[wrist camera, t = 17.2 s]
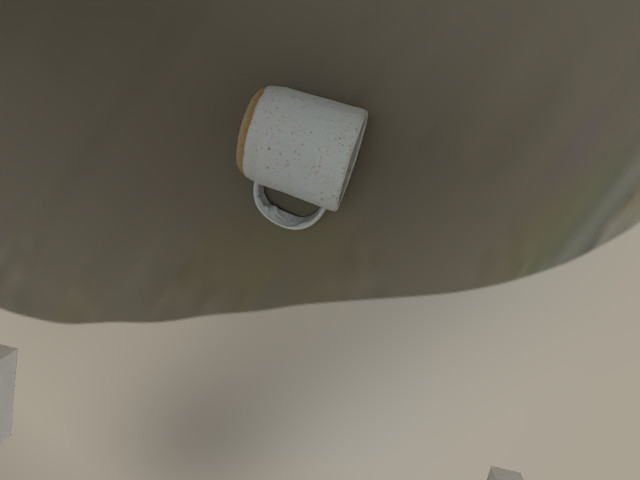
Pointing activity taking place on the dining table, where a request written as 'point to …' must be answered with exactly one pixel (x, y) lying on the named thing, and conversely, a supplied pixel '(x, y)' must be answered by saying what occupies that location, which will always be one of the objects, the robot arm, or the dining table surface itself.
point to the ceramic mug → (299, 150)
